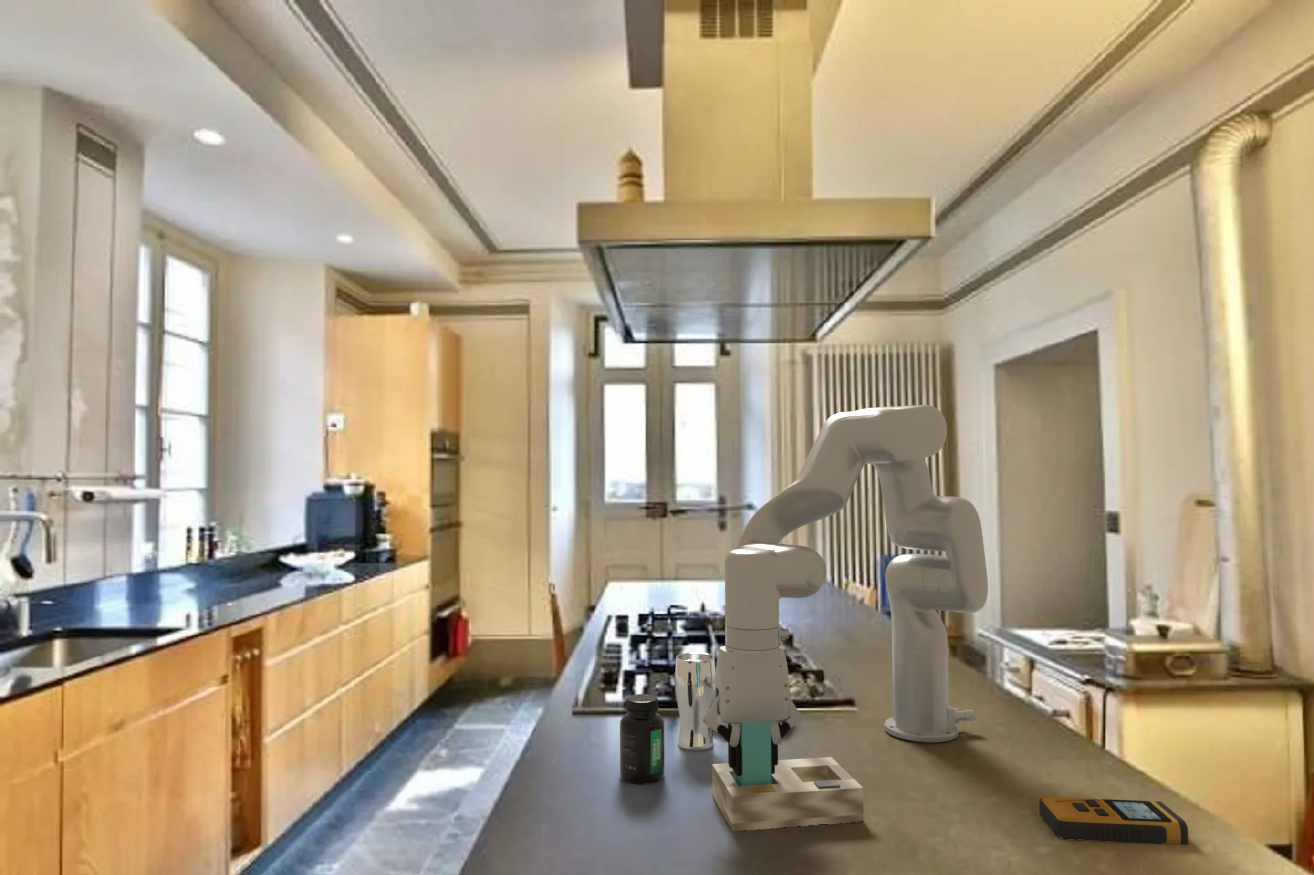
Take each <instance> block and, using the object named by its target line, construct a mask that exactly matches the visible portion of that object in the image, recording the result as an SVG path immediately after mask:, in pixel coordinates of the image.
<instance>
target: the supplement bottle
mask: <svg viewBox="0 0 1314 875" xmlns="http://www.w3.org/2000/svg"><path fill="white" fill-rule="evenodd" d="M658 702H659V701H658V697H657V696H656V695H653V694H649V693H648V694H645V693H641V694H640V693H639V694H638V693H637V694H632V695H629V696H627V697H626V702H625V704H626V706H625V712H627V713H626V714H624V715H623V716H622V717H621V719H620V722H619V773H620V774H619V775H620V777H621V779H622V780H623V781H624V782H626V783H629V784H632V785H651V784H650V783H652V784H655V783H657V782H660V781H661V780H662V779H663V778H664V777H665V721H664V718H663V717H662V715H660V714H659V713H657V712H658V711H659V706H658V705H659V704H658Z"/></svg>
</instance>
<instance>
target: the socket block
mask: <svg viewBox="0 0 1314 875" xmlns="http://www.w3.org/2000/svg"><path fill="white" fill-rule="evenodd" d="M711 766H712V767H711V770H712V771H711V772H712V773H711V774H712V775H711V777H712V778H711V782H712V783H711V784H712V788H711V789H712V792H711V793H712V794H711V795H712V797H713V799H714V801H715V802H716V805H717V804H718V805H717V807H718V808H719V810H720V812H721V814H722V815H723V817H724V819H725V820H726V823H727V822H728V823H727V824H728V826H729V828H730V827H731V828H730V830H731V831H732V832H742V831H743V830H746V831H756V830H757V831H758V830H759V829H760V830H770V829H771V830H772V828H773V829H783V828H784V827H787V828H798V827H797V826H801V827H809V826H808V825H814V826H819V825H818V824H828V825H840V823H842V824H852V823H851V822H855V823H862V822H861V821H864V820H865V819H864V817H865V816H864V814H865V813H864V787H863V786H862V785H861V784H860V783H859V782H858V781H857V780H856V779H855V778H854V777H853V776H851V775H850V774H849V772H847V771H846V770H845V769H844V768H843V767H842V766H841V765H840V764H839V763H838V762H837V761H836V760H835V759H834V758H833V757H831V756H828V757H827V756H826V757H825V756H824V757H823V756H822V757H811V758H810V757H809V758H795V759H794V758H793V759H792V758H791V759H778V765H775V774H771V784H761V785H749V786H738V784H737V783H736V774H735V772H734V771H733V769H732V768H730V767H729V763H728V762H727V763H724V762H723V763H713V764H711ZM859 821H860V822H859ZM864 822H865V821H864ZM838 823H839V824H838ZM815 824H816V825H815ZM805 825H806V826H805ZM782 827H783V828H782ZM784 829H785V828H784ZM743 832H744V831H743Z"/></svg>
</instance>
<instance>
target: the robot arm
mask: <svg viewBox="0 0 1314 875" xmlns="http://www.w3.org/2000/svg"><path fill="white" fill-rule="evenodd" d="M947 434H948V425H947V422H946V418H945V417H944V414H943V413H942V412H941V411H940V410H939V409H938V408H936V407H935V406H933V405H930V404H917V405H916V404H915V405H912V404H911V405H898V406H896V405H894V406H876V407H867V408H861V409H857V410H854V411H853V410H851V411H842V412H838V413H835V414H833V415H830V416H829V417H828V418H827V419H826V421H825V422H824V423H823V424H822V426H821V429H820V431H819V433H818V435H817V436H816V438H815V441H814V443H813V445H812V447H811V449H810V451H809V453H808V454H807V457H806V459H805V462H804V463H803V465H802V468H801V470H800V472H799V473H798V475H797V478H796V479H795V480H794V482H792V483H791V484H790V485H789V486H787V487H784V489H782V490H781V491H780V492H778V493H777V494H776V495H774V496H773V497H772V498H771V499H769V501H767V502H765V503H764V504H763V505H762V506H761V507H760V508H759V509H757V511H756V512H755V513H754V514H753V515H752V516H751V517H750V519H749V520H748V522H747V524H746V525H745V527H744V529H743V531H742V533H741V535H740V538H739V539H738V541H737V543H736V546H735V549H733V550H730V551H729V552H728V553H727V554H726V556H725V559H724V608H725V609H724V613H725V614H724V615H725V617H724V619H725V622H724V623H725V624H724V625H725V626H724V632H725V636H724V637H725V639H724V640H725V641H724V645H721V646H720V647H719V649H718V652H717V657H716V658H717V659H716V665H715V690H714V702H713V704H712V705H711V707H710V709H709V710H708V712H707V713H706V715H705V717H704V719H703V722H704V723H705V725H706V726H708V727H709V728H711V730H713V731H714V732H717V734H719V735H720V736H721V737H722V738H723V739H724V740H725V741H726V742H727V743H728V744H727V746H728V748H727V751H728V752H727V753H728V755H727V759H728V762H727V763H729V767H730V768H732V769H733V771H734V772H735V774H736V775H737V776H741V775H742V748H741V746H740V741H739V736H740V730H741V724H742V722H763V721H771V774H775V765H778V760H779V745H780V743H781V742H782V739H783V738H784V737H785V736H786V734H788V732H789V731H790V729H791V728H793V727H795V726H796V725H797V724H798V723H800V722H801V721H802V720H803V716H802V714H801V713H800V711H799V710H798V708H797V706H796V705H795V703H794V702H793V701H792V698H791V686H790V677H789V676H790V675H789V669H788V663H787V657H786V652H785V649H784V647H783V646H782V641H783V640H784V639H785V640H787V639H789V638H790V630H789V629H788V628H784V627H782V626H781V625H780V599H783V598H785V599H787V598H789V599H791V598H792V599H804V598H809V597H811V596H813V595H815V594H816V593H818V592H819V591H820V590H821V588H822V587H823V586H824V583H825V581H826V578H827V567H826V566H827V565H826V562H825V560H824V558H823V557H822V555H821V554H820V553H819V552H818V551H817V550H815V549H813V548H811V547H808V546H806V545H805V546H804V545H799V544H785V543H781V541H782V540H783V539H784V538H786V537H787V536H788V535H789V534H791V533H792V532H794V531H795V530H797V529H799V528H802V527H804V526H807V525H809V524H812V523H815V522H817V521H821V520H823V519H825V518H827V517H831V516H832V515H835V514H837V513H839V512H840V511H842V510H843V509H844V508H845V507H846V506H847V504H848V501H849V499H850V497H851V495H852V493H853V490H854V488H855V485H856V484H857V481H858V479H859V476H860V474H861V472H862V469H863V468H864V466H866V465H868V464H869V465H871V464H872V466H873V467H874V469H875V470H876V472H877V476H878V479H879V482H880V487H881V488H880V489H881V495H882V496H881V497H882V502H883V509H884V510H883V512H884V518H885V524H886V530H887V535H888V537H889V539H890V541H891V543H893V545H895V546H896V547H899V548H903V549H906V550H907V549H908V550H917V551H930V552H931V551H934V552H944V553H945V554H946V555H938V554H927V553H925V554H924V553H903V554H901V555H898V556H895V557H894V558H893V559H891V560H890V562H889V563H888V565H887V567H886V570H885V576H884V579H885V581H884V582H885V589H886V594H887V597H888V602H889V608H890V617H891V618H890V619H891V651H892V652H891V653H892V654H891V655H892V656H891V659H892V660H891V661H892V662H891V663H892V665H891V666H892V668H891V669H892V673H891V674H892V717H890V718H889V717H888V718H887V719H886V720H884V726H883V728H884V730H885V731H886V733H887V734H889V735H891V736H893V737H896V738H899V739H902V740H906V741H911V742H917V743H919V742H920V743H944V742H949V741H952V740H955V739H956V738H958V736H959V727H958V726H957V724H958V723H959V722H974V721H975V720H976V713H975V711H974V710H973V709H963V710H961V708H960V707H952V706H950V704H949V653H948V652H949V650H948V648H949V646H948V642H949V641H948V633H947V630H946V629H947V628H946V626H945V624H944V622H943V620H942V619H941V616H940V615H939V613H938V612H937V611H942V612H951V613H952V612H953V613H958V614H973V613H976V612H979V611H981V610H982V608H984V607H985V605H986V604H987V600H988V595H989V580H988V578H989V577H988V571H987V562H986V555H985V554H986V553H985V545H984V544H985V543H984V538H983V530H982V523H981V519H980V515H979V514H978V511H977V509H976V507H975V506H974V504H972V502H971V501H970V500H967V499H966V498H963V497H958V496H941V495H936V494H935V493H934V492H933V488H932V483H931V476H930V471H929V467H928V464H927V462H926V460H925V459H927V458H929V457H932V456H934V455H936V454H938V453H939V452H940V451H941V450H942V448H943V447H944V445H945V443H946V440H947ZM719 715H720V717H721V720H722V721H723V722H725V723H727V728H726V727H725V726H724V725H723V724H722V723H720V722H719V721H717V717H718V716H719Z"/></svg>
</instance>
